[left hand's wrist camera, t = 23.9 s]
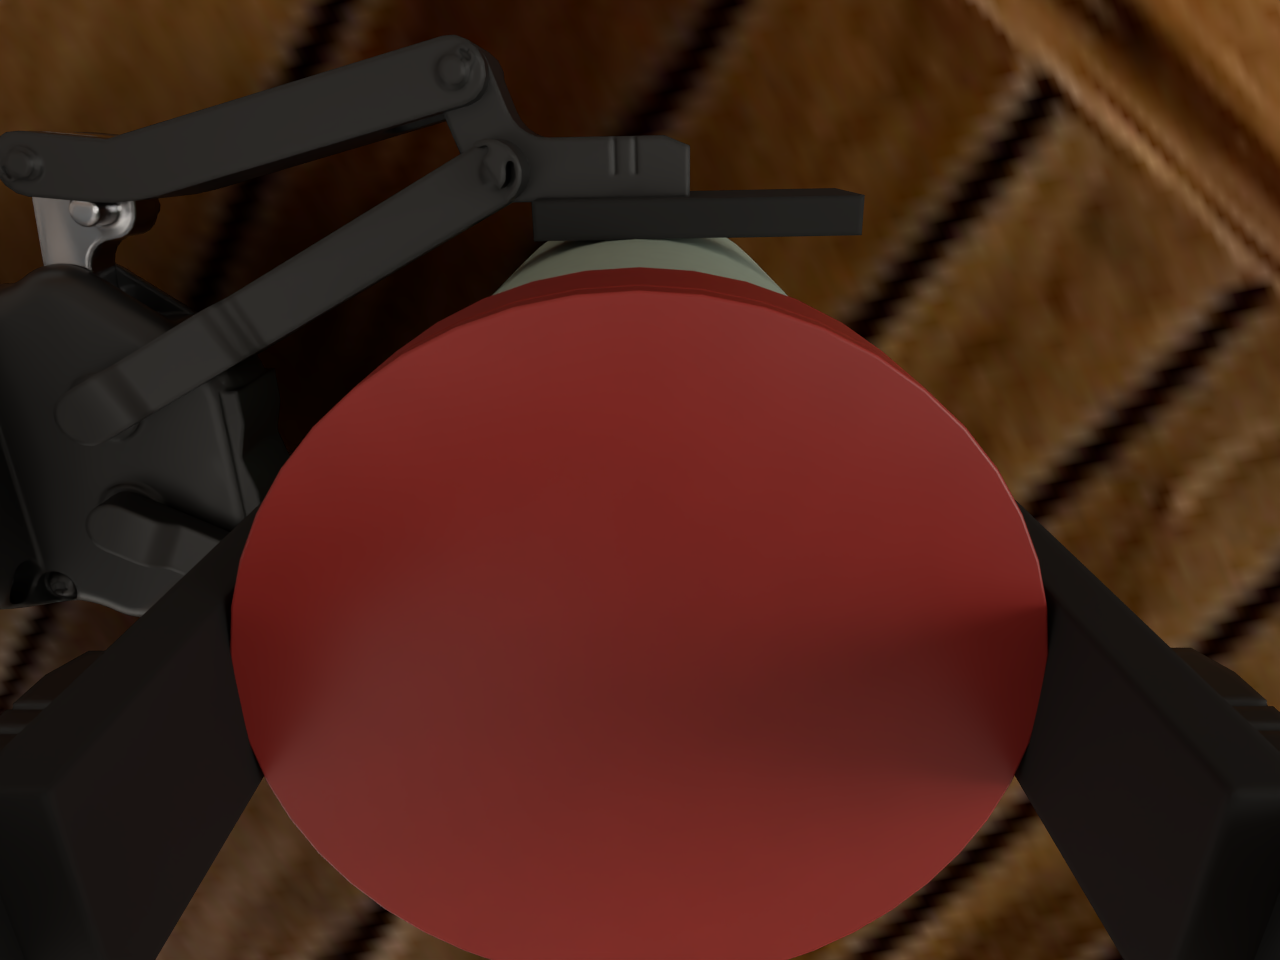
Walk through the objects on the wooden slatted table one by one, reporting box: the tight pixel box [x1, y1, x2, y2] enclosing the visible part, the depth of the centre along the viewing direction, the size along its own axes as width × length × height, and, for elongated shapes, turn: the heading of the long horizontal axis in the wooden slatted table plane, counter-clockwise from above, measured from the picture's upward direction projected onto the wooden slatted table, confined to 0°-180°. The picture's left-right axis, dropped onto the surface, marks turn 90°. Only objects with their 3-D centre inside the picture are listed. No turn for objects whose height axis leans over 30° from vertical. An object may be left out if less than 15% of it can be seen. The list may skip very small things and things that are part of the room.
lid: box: [230, 267, 1048, 960], centre depth 11 cm, size 10×10×2 cm
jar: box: [493, 238, 787, 296], centre depth 18 cm, size 9×9×16 cm
